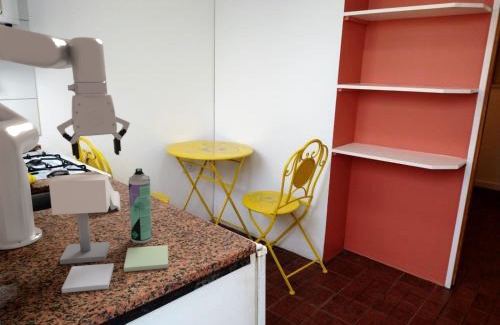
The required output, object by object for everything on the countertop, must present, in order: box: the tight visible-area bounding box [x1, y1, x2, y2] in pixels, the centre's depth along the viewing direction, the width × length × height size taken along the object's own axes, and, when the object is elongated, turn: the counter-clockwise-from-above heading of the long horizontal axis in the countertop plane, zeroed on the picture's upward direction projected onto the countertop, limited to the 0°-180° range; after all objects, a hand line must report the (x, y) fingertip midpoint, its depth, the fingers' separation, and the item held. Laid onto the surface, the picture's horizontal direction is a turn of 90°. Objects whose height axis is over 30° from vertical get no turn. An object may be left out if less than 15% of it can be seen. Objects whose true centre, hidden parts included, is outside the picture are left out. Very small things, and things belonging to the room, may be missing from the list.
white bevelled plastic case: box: [103, 181, 121, 214], centre depth 126 cm, size 17×5×10 cm, turn 20°
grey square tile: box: [61, 262, 115, 294], centre depth 81 cm, size 9×9×1 cm
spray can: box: [128, 167, 153, 244], centre depth 99 cm, size 6×6×20 cm
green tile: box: [123, 244, 169, 273], centre depth 90 cm, size 10×10×1 cm
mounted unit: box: [48, 173, 110, 265], centre depth 89 cm, size 12×8×20 cm, turn 103°
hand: (97, 156), depth 96 cm, fingers open, 9 cm apart
